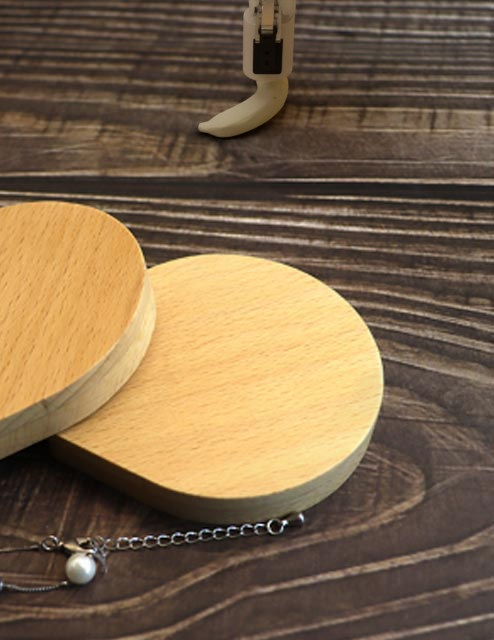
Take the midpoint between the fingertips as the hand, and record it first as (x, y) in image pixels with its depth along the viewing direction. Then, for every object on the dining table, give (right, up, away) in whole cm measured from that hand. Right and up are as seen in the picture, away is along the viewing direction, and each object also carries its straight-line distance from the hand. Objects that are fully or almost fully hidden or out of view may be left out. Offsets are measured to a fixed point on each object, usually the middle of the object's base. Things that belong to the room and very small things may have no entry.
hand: (268, 57), depth 115 cm
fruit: (-2, -4, +6) cm, 7 cm away
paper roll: (0, -1, +1) cm, 2 cm away
